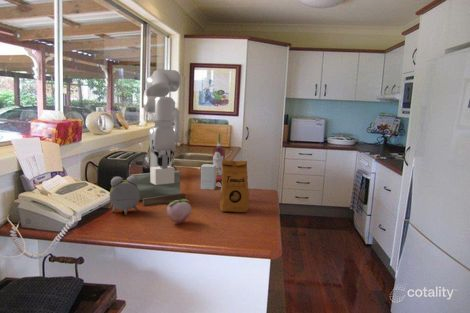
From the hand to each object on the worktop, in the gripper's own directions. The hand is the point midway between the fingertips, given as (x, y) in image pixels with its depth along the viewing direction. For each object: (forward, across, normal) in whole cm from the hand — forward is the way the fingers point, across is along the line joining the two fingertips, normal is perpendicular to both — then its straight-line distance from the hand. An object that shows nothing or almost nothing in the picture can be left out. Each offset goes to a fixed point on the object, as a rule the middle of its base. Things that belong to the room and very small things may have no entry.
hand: (163, 165), depth 156 cm
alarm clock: (+17, +20, +8) cm, 27 cm away
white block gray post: (+8, 0, -1) cm, 8 cm away
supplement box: (+17, -32, -14) cm, 39 cm away
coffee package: (+17, -21, +26) cm, 38 cm away
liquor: (+17, -46, -26) cm, 55 cm away
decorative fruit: (+18, +7, +29) cm, 35 cm away
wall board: (+17, 0, -4) cm, 17 cm away
